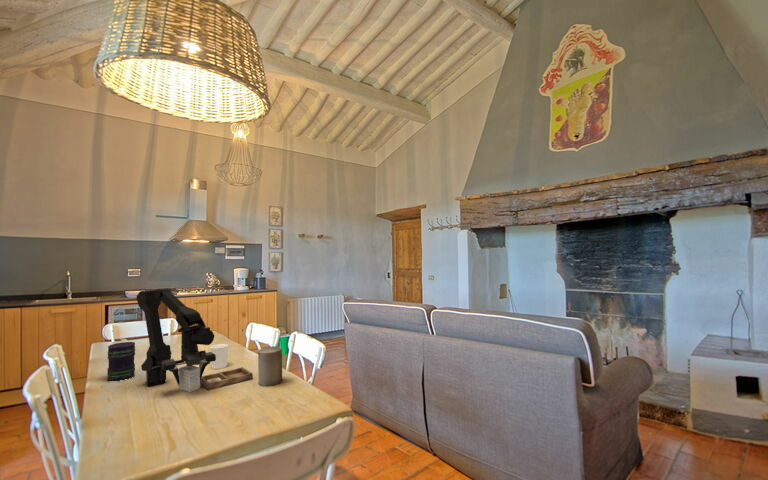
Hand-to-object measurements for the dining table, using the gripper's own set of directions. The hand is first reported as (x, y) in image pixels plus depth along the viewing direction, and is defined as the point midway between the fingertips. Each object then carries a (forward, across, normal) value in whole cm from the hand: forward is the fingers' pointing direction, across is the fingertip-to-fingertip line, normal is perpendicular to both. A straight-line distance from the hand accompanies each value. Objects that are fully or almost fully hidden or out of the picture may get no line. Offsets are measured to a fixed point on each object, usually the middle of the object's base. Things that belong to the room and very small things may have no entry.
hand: (189, 382), depth 142 cm
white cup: (+3, +18, +22) cm, 29 cm away
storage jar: (+3, -19, +36) cm, 41 cm away
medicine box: (+3, 0, 0) cm, 3 cm away
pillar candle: (+3, +27, -16) cm, 32 cm away
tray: (+3, +14, -1) cm, 14 cm away
